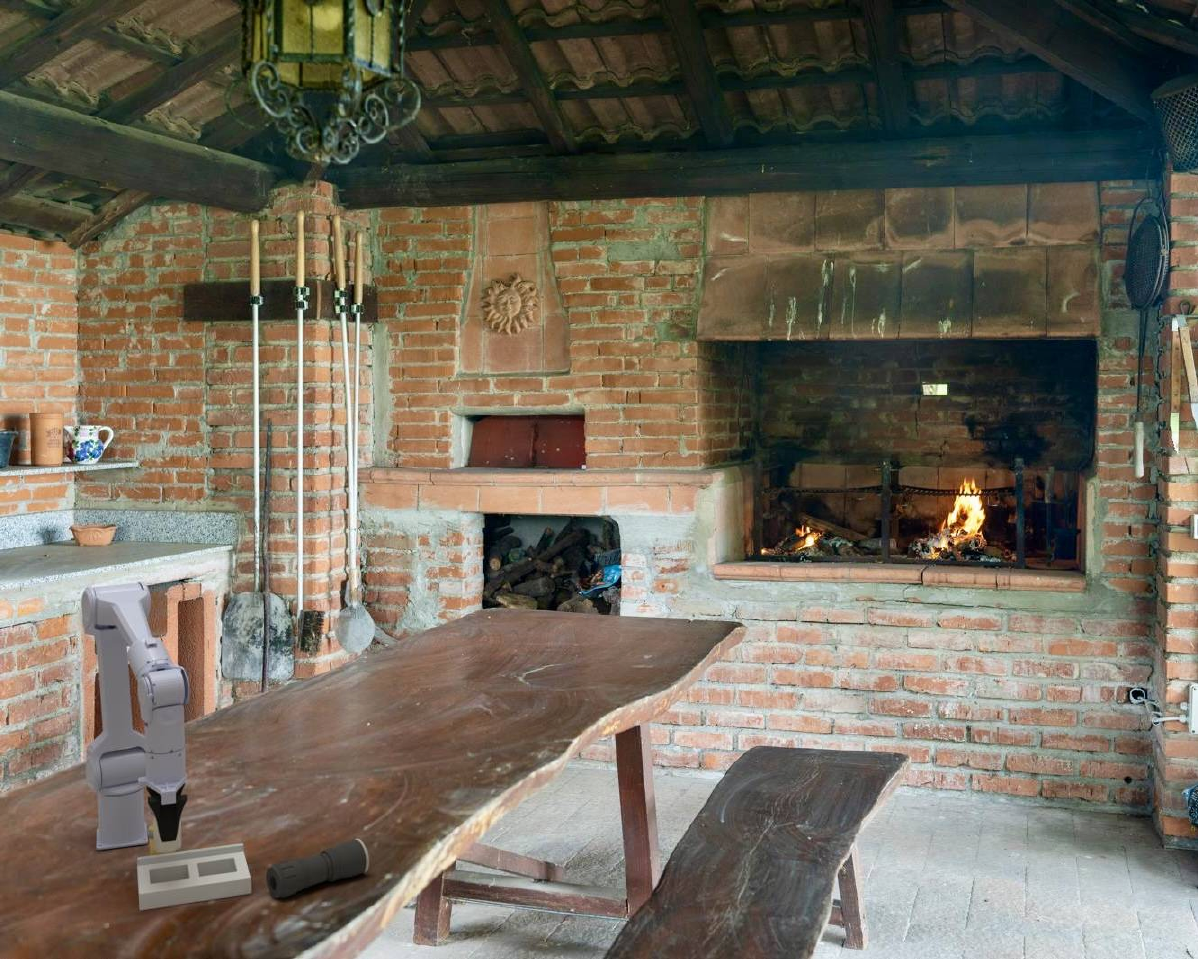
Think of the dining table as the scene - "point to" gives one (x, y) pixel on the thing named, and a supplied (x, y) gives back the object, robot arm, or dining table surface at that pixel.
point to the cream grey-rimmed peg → (165, 846)
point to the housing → (192, 876)
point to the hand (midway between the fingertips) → (168, 834)
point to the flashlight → (318, 868)
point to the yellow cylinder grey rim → (151, 840)
